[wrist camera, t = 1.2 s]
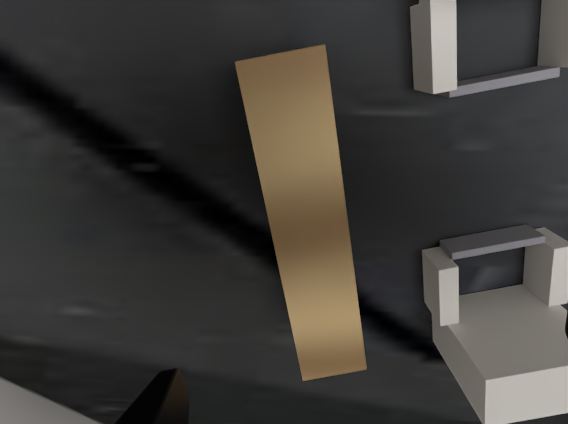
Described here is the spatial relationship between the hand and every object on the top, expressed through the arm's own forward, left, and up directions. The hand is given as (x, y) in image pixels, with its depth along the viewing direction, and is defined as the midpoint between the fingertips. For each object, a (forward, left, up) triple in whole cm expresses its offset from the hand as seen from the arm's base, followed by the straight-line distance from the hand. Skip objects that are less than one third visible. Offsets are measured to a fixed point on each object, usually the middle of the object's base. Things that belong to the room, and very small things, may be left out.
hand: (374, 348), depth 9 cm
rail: (-1, +1, -12) cm, 12 cm away
